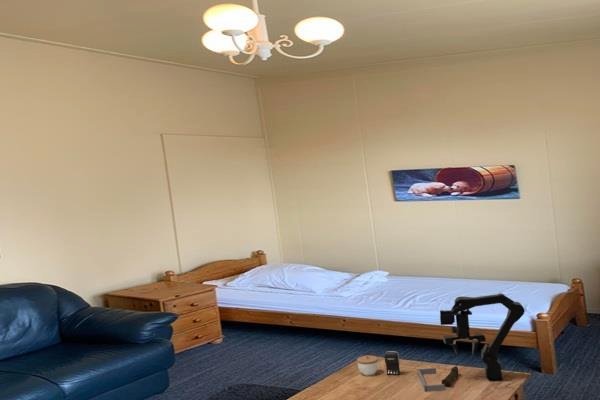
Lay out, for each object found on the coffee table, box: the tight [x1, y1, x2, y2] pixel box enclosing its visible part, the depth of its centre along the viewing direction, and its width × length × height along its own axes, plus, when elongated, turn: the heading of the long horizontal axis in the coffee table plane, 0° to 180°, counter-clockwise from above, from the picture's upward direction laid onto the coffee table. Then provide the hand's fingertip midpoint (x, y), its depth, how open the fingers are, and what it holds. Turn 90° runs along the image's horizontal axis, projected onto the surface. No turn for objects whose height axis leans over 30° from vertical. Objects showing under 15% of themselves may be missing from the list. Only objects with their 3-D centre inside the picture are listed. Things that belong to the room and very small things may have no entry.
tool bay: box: [417, 367, 446, 392], centre depth 281 cm, size 9×24×2 cm, turn 177°
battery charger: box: [384, 350, 401, 376], centre depth 296 cm, size 7×4×11 cm, turn 70°
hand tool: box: [441, 365, 459, 388], centre depth 280 cm, size 19×4×5 cm, turn 146°
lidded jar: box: [356, 354, 379, 377], centre depth 300 cm, size 11×11×9 cm
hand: (465, 356), depth 279 cm, fingers open, 7 cm apart
